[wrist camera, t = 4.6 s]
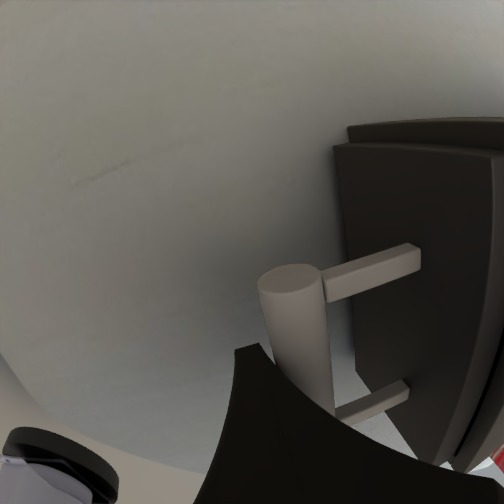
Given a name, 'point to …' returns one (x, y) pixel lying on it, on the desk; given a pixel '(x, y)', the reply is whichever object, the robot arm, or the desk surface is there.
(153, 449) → the desk surface
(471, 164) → the drawer
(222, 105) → the desk surface
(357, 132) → the cabinet
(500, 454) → the pill bottle
